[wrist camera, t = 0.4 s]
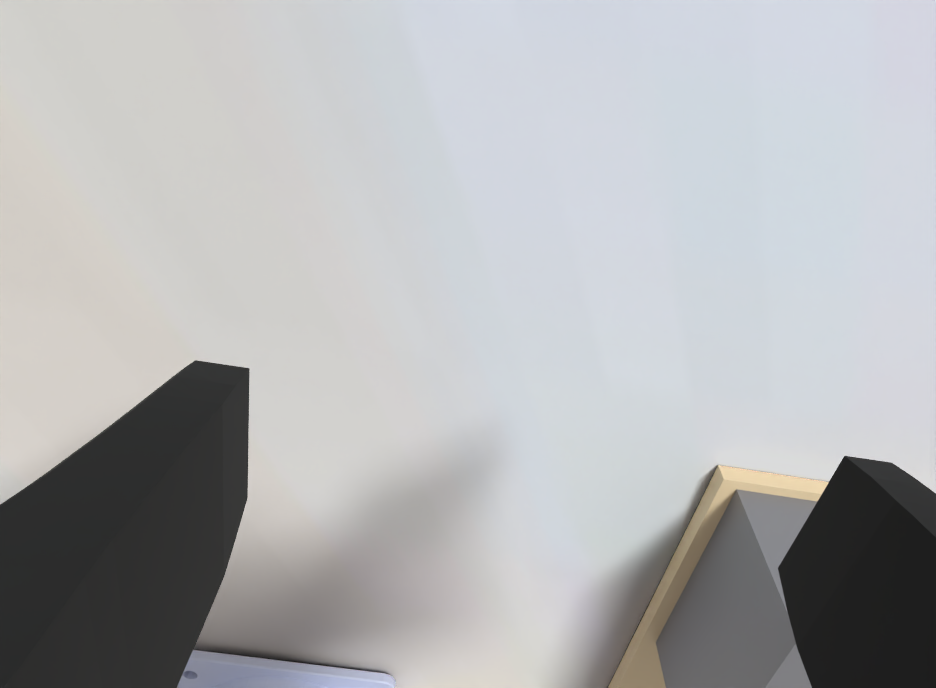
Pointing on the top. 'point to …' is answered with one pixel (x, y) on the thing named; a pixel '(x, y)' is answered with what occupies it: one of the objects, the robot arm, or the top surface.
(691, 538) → the tan square board
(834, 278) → the top surface
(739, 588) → the plug housing
